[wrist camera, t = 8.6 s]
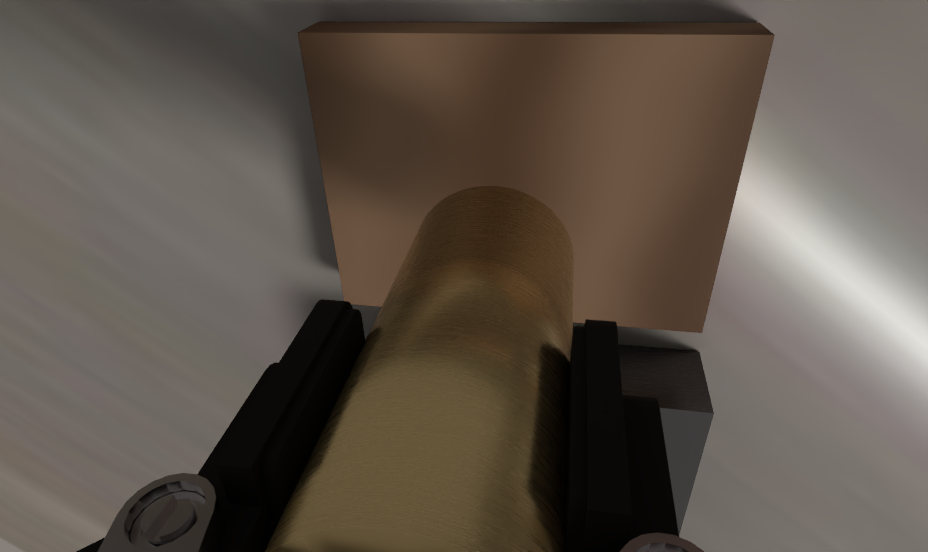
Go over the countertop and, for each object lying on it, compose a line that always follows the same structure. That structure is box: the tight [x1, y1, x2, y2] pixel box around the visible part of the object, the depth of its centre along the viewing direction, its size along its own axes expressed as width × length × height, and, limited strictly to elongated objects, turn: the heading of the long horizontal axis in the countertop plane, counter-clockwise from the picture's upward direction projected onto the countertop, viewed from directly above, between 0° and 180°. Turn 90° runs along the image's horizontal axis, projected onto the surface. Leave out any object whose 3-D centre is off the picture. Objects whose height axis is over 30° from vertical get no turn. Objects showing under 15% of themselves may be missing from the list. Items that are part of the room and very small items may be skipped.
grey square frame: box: [618, 345, 714, 533], centre depth 24 cm, size 12×12×3 cm
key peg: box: [265, 186, 574, 552], centre depth 11 cm, size 4×4×9 cm
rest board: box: [298, 22, 774, 333], centre depth 18 cm, size 12×9×2 cm
